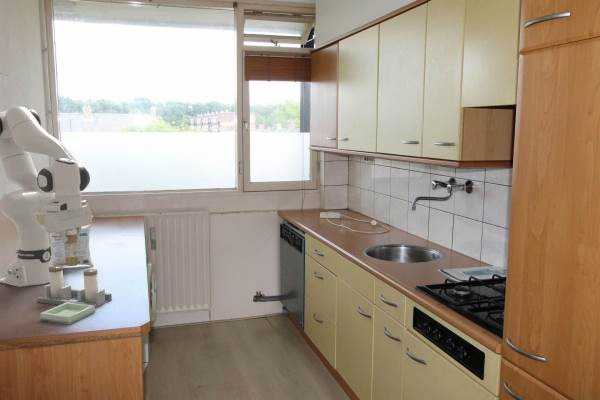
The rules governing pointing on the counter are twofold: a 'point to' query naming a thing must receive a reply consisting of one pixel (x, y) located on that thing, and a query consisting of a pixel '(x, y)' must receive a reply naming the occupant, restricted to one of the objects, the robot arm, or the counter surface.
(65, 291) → the spice rack
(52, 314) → the tray
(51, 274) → the left jar
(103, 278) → the counter surface
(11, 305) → the counter surface
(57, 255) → the pouch
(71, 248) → the sprinkles bottle
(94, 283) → the right jar
